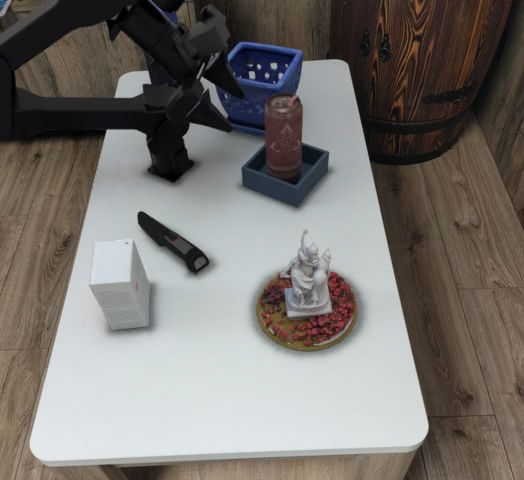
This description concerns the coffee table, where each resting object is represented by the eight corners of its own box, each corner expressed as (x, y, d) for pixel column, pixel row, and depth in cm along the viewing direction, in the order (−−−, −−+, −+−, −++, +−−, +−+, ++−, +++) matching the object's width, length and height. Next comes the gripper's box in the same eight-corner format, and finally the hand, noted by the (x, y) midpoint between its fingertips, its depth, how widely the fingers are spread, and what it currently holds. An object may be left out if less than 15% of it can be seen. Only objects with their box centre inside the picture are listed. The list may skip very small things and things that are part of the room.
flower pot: (217, 135, 98) (209, 74, 88) (244, 98, 104) (239, 37, 94) (280, 149, 95) (279, 87, 85) (304, 110, 101) (306, 49, 91)
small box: (115, 289, 78) (93, 240, 69) (151, 285, 78) (133, 236, 69) (111, 331, 73) (87, 285, 65) (149, 327, 73) (130, 281, 65)
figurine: (253, 274, 78) (246, 203, 66) (348, 266, 78) (359, 194, 66) (259, 355, 70) (254, 290, 58) (366, 346, 70) (382, 280, 58)
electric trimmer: (152, 218, 86) (148, 204, 84) (212, 263, 80) (209, 249, 77) (135, 230, 85) (130, 216, 82) (194, 277, 78) (190, 263, 76)
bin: (242, 186, 89) (241, 167, 86) (275, 151, 94) (275, 132, 91) (296, 207, 86) (297, 188, 83) (327, 170, 91) (329, 151, 87)
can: (308, 173, 90) (312, 98, 78) (286, 192, 87) (286, 117, 76) (282, 160, 92) (282, 85, 80) (260, 178, 90) (256, 103, 78)
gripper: (170, 29, 63) (260, 117, 71) (206, -34, 73) (281, 49, 81) (128, 86, 71) (213, 160, 79) (166, 22, 80) (238, 93, 88)
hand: (238, 113), depth 81 cm, fingers open, 9 cm apart
